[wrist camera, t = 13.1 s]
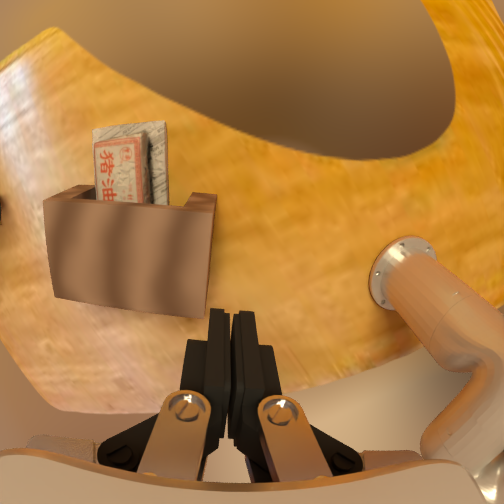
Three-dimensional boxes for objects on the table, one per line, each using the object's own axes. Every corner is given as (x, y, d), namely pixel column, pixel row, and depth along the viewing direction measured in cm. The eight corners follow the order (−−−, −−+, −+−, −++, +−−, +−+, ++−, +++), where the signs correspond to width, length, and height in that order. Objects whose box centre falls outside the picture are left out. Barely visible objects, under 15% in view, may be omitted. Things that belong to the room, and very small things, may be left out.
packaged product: (167, 273, 35) (95, 272, 34) (174, 257, 39) (108, 257, 39) (158, 118, 28) (78, 129, 27) (168, 120, 32) (95, 128, 32)
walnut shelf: (216, 194, 36) (212, 213, 28) (208, 281, 41) (204, 319, 32) (78, 184, 34) (42, 200, 26) (82, 266, 38) (54, 297, 30)
